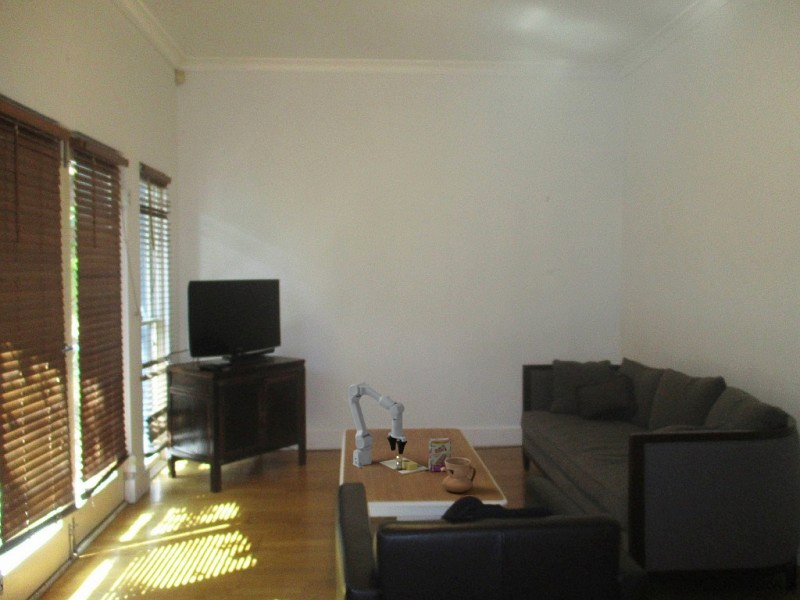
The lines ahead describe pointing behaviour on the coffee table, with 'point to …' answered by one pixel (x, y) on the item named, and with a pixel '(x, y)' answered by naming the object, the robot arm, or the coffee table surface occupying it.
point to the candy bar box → (438, 453)
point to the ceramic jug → (458, 475)
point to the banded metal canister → (399, 462)
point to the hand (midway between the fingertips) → (397, 452)
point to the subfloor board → (393, 465)
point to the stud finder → (409, 465)
